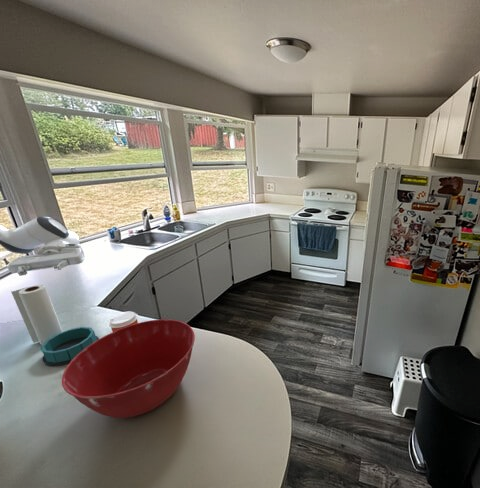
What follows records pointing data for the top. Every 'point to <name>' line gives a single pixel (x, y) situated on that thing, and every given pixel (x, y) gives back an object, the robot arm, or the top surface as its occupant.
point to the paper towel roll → (37, 312)
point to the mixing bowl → (131, 368)
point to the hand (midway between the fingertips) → (39, 271)
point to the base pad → (67, 345)
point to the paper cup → (123, 320)
